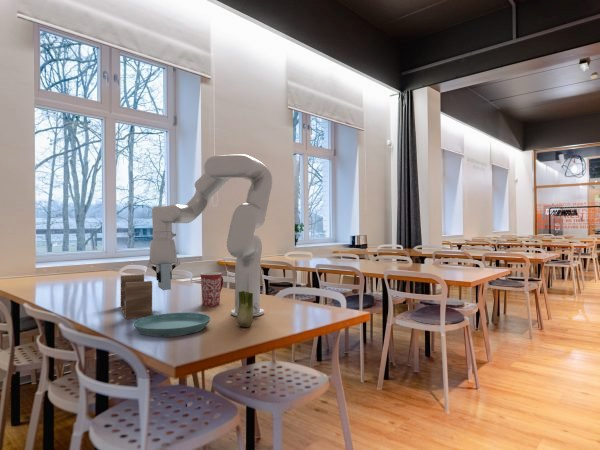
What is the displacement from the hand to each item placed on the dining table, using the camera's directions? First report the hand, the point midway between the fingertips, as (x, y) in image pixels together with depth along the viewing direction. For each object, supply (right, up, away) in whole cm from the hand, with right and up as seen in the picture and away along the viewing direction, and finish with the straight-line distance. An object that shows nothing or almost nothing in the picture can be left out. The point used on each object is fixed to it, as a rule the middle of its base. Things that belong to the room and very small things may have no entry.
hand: (164, 281), depth 167 cm
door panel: (0, -3, 0) cm, 3 cm away
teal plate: (+13, -12, -32) cm, 36 cm away
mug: (+17, -12, +12) cm, 24 cm away
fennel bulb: (+36, -12, -29) cm, 48 cm away
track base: (-10, -11, -4) cm, 16 cm away
